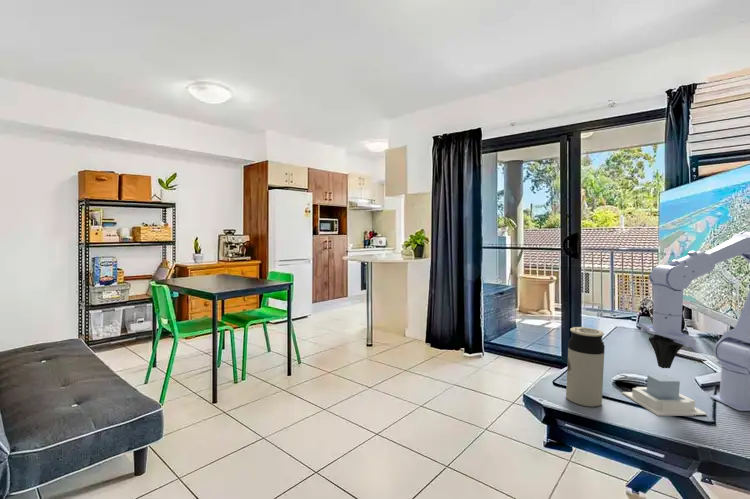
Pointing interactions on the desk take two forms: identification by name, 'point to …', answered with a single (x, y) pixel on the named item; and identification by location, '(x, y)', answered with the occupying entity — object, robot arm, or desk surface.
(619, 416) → the desk surface
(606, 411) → the desk surface
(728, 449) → the desk surface
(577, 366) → the travel mug
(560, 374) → the desk surface
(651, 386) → the plug block
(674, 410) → the socket plate
